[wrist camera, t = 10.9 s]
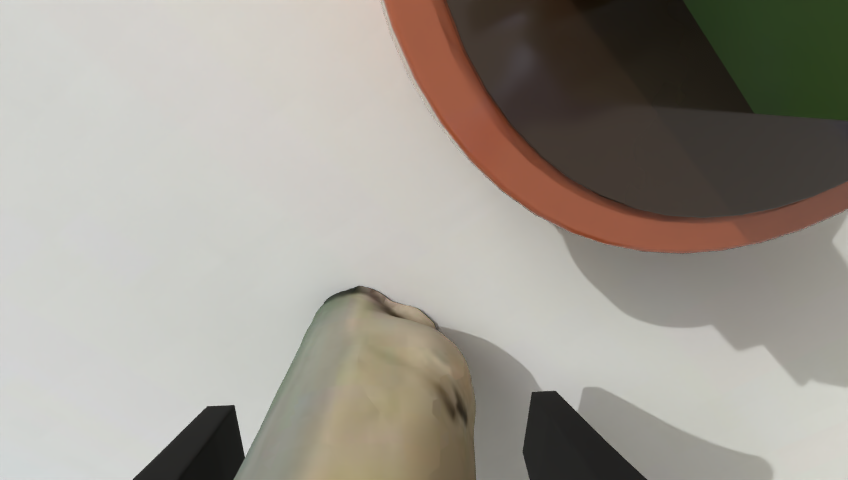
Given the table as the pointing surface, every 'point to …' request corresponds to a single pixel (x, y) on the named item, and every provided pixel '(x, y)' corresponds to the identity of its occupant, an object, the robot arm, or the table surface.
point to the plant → (643, 111)
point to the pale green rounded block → (369, 400)
